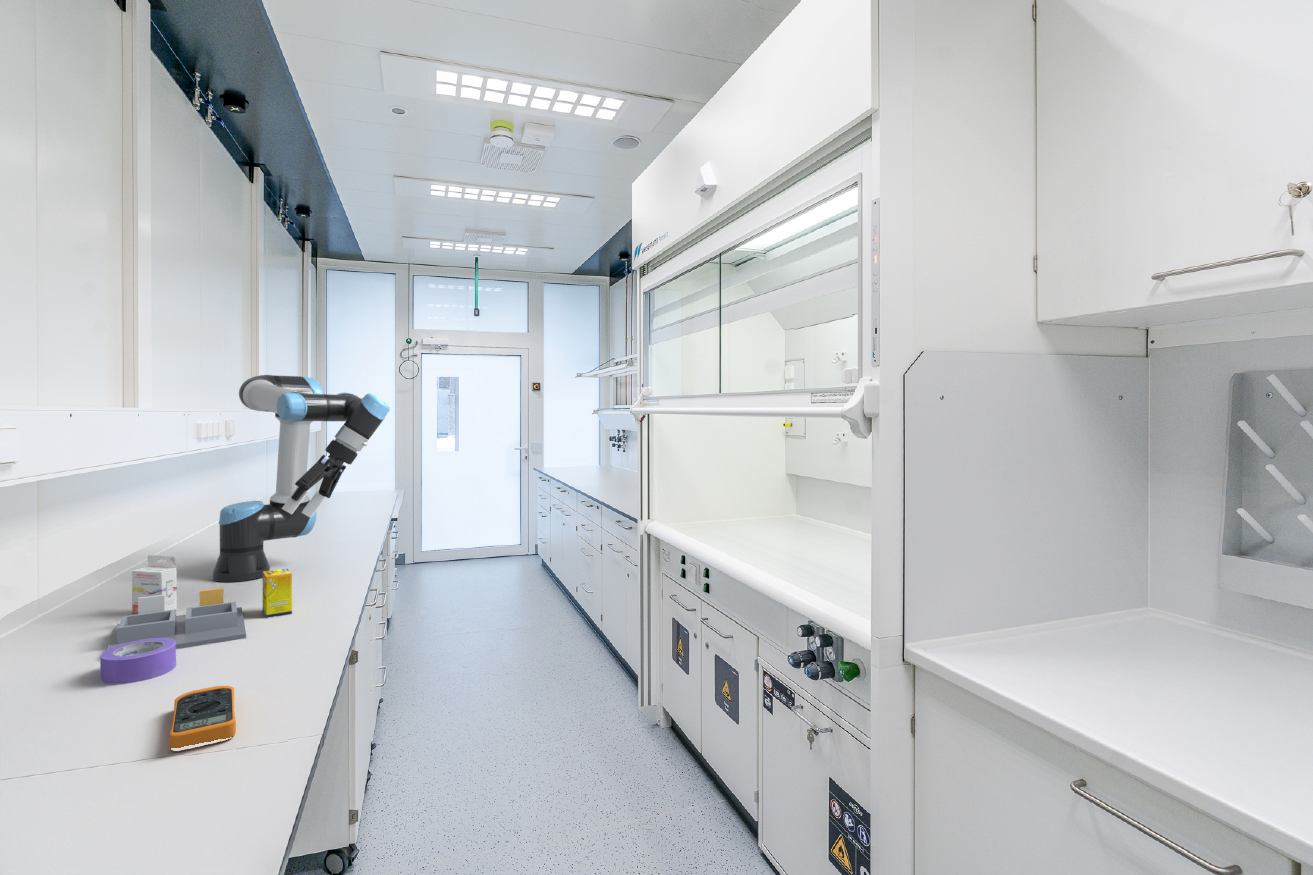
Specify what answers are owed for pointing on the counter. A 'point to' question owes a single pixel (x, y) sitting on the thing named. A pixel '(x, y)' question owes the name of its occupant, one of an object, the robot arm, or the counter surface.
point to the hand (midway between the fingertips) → (296, 513)
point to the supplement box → (277, 592)
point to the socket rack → (183, 622)
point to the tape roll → (138, 660)
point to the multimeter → (203, 716)
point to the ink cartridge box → (156, 581)
